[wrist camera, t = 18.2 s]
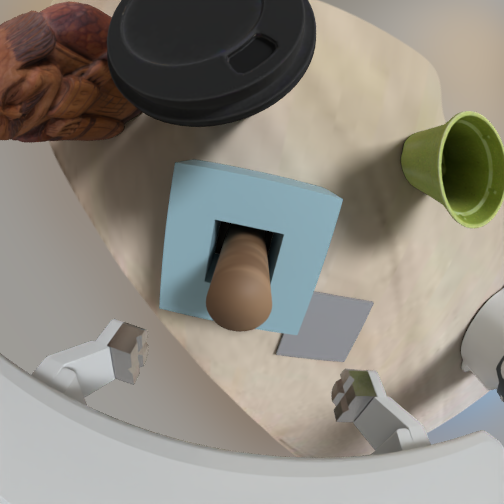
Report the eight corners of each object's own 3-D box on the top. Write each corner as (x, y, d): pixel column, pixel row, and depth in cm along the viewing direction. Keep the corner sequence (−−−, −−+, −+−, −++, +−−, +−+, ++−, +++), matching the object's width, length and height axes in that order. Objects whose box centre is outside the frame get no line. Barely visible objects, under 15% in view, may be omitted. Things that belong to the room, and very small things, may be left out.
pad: (372, 301, 28) (373, 303, 28) (343, 359, 31) (344, 361, 31) (298, 288, 28) (299, 290, 27) (276, 352, 31) (276, 354, 30)
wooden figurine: (94, 161, 23) (-56, 201, 6) (68, 119, 21) (-72, 127, 4) (182, 82, 20) (62, -6, 4) (150, 42, 19) (35, -44, 2)
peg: (268, 222, 25) (279, 282, 14) (260, 257, 26) (263, 336, 15) (230, 214, 25) (210, 269, 14) (223, 250, 26) (202, 324, 15)
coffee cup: (265, 153, 23) (280, 155, 9) (166, 124, 22) (62, 104, 8) (299, 62, 20) (348, -28, 6) (201, 36, 19) (147, -58, 5)
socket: (323, 187, 24) (343, 199, 18) (290, 299, 28) (297, 335, 23) (194, 159, 23) (175, 162, 18) (176, 277, 27) (159, 308, 22)
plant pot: (430, 102, 20) (485, 95, 12) (463, 178, 23) (516, 194, 15) (369, 141, 22) (419, 140, 14) (409, 221, 25) (459, 250, 17)
